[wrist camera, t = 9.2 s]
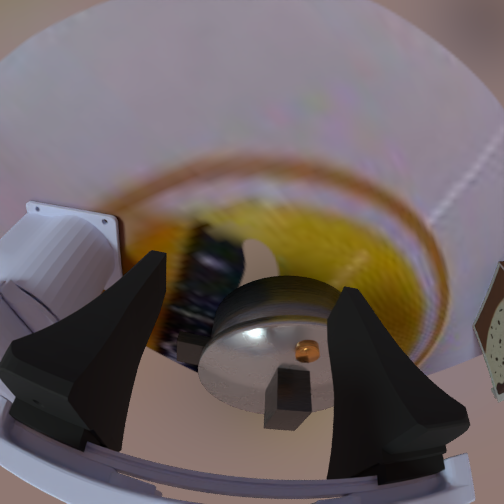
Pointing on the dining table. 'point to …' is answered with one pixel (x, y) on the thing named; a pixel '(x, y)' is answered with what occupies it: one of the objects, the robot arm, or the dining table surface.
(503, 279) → the food container
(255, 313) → the cooker pot
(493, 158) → the dining table surface
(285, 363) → the cooker lid
